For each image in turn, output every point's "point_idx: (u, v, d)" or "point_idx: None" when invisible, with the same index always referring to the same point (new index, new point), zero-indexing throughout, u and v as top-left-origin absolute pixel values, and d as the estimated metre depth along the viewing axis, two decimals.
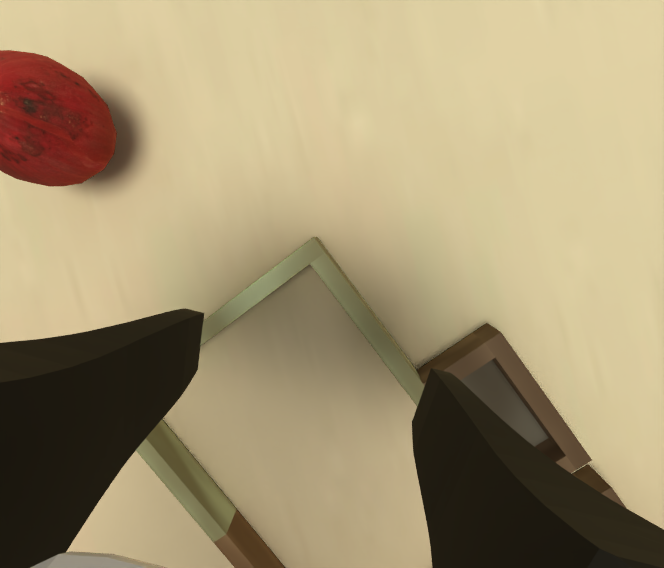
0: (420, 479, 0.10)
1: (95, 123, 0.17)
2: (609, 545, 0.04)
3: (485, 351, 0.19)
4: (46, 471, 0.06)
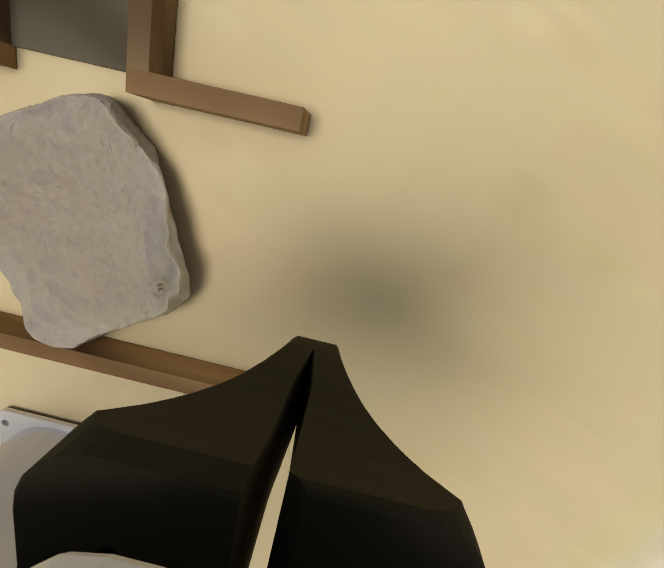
0: (293, 448, 0.10)
1: None
2: (311, 471, 0.04)
3: None
4: (253, 523, 0.06)
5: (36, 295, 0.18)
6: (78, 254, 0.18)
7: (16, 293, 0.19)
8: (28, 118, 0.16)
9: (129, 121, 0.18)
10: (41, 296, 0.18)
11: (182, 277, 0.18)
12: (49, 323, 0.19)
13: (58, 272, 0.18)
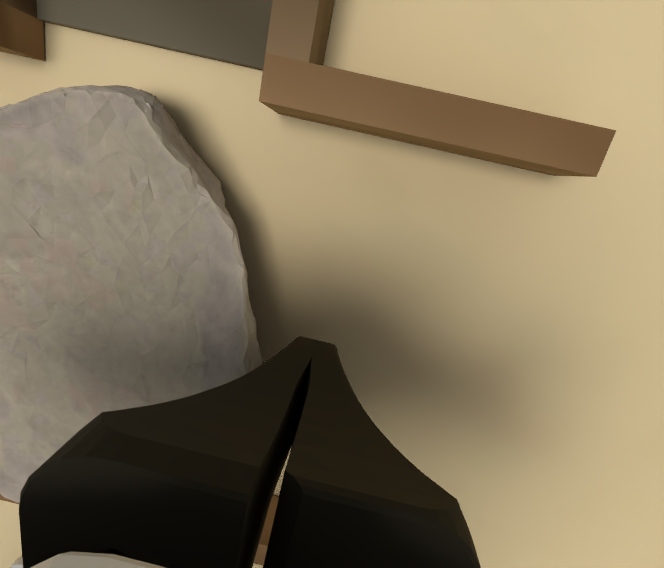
0: (291, 448, 0.10)
1: None
2: (307, 470, 0.04)
3: None
4: (258, 524, 0.06)
5: (10, 436, 0.11)
6: (85, 376, 0.10)
7: None
8: None
9: (180, 137, 0.10)
10: (19, 438, 0.11)
11: None
12: None
13: (49, 403, 0.10)
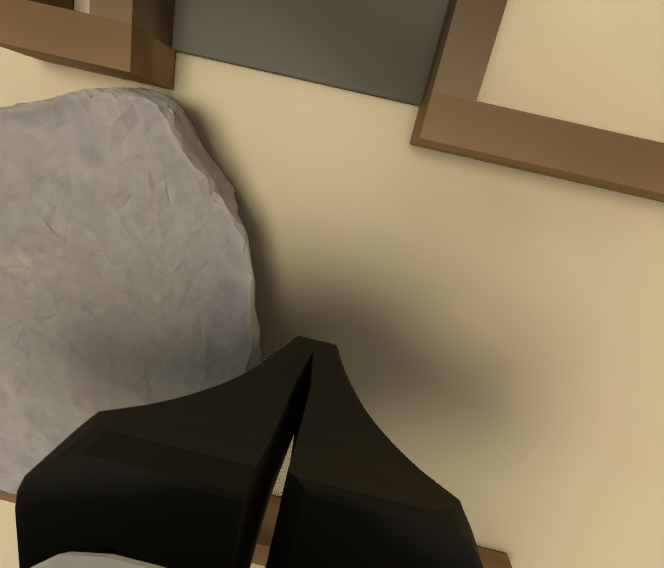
0: (292, 448, 0.10)
1: None
2: (310, 470, 0.04)
3: None
4: (255, 524, 0.06)
5: (6, 426, 0.11)
6: (88, 373, 0.10)
7: None
8: (12, 129, 0.08)
9: (199, 143, 0.10)
10: (14, 429, 0.11)
11: None
12: (25, 469, 0.11)
13: (48, 396, 0.10)
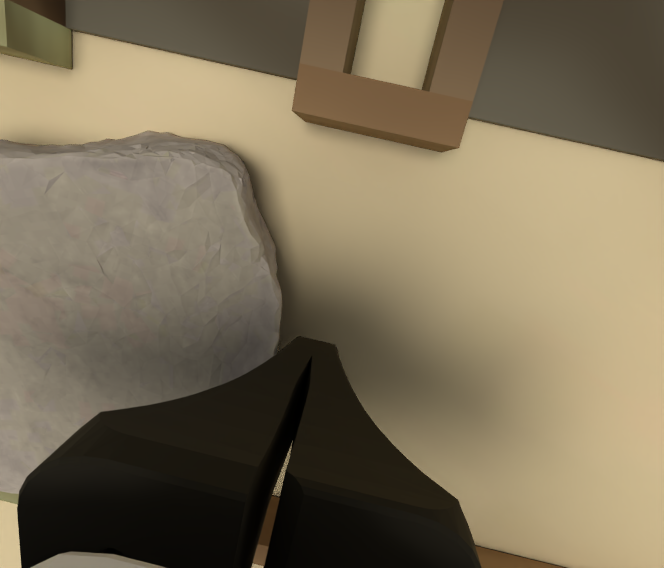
0: (291, 448, 0.10)
1: None
2: (308, 470, 0.04)
3: None
4: (256, 524, 0.06)
5: (5, 430, 0.11)
6: (103, 400, 0.10)
7: None
8: (89, 175, 0.08)
9: (254, 204, 0.10)
10: (14, 434, 0.11)
11: None
12: (14, 472, 0.11)
13: (56, 413, 0.10)
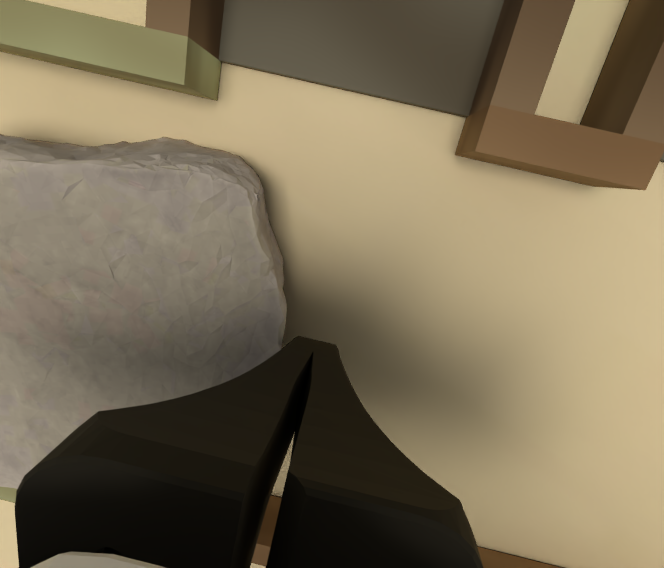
0: (292, 448, 0.10)
1: None
2: (310, 471, 0.04)
3: None
4: (255, 524, 0.06)
5: (1, 425, 0.11)
6: (103, 402, 0.10)
7: None
8: (108, 183, 0.08)
9: (266, 217, 0.10)
10: (10, 430, 0.11)
11: None
12: (8, 467, 0.11)
13: (55, 411, 0.10)
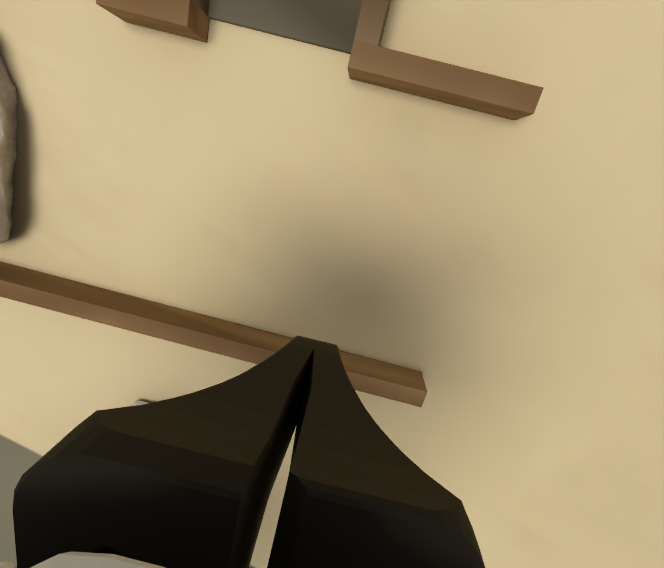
0: (293, 448, 0.10)
1: None
2: (311, 471, 0.04)
3: None
4: (253, 523, 0.06)
5: None
6: None
7: None
8: None
9: None
10: None
11: None
12: None
13: None
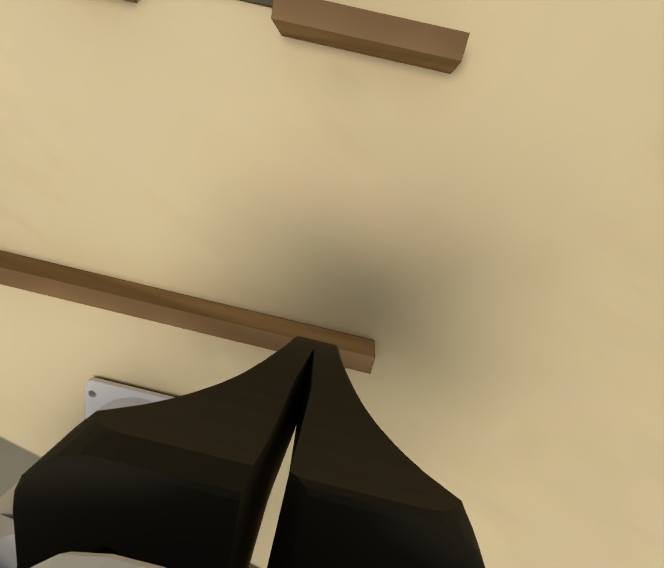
0: (293, 448, 0.10)
1: None
2: (311, 471, 0.04)
3: None
4: (253, 523, 0.06)
5: None
6: None
7: None
8: None
9: None
10: None
11: None
12: None
13: None
